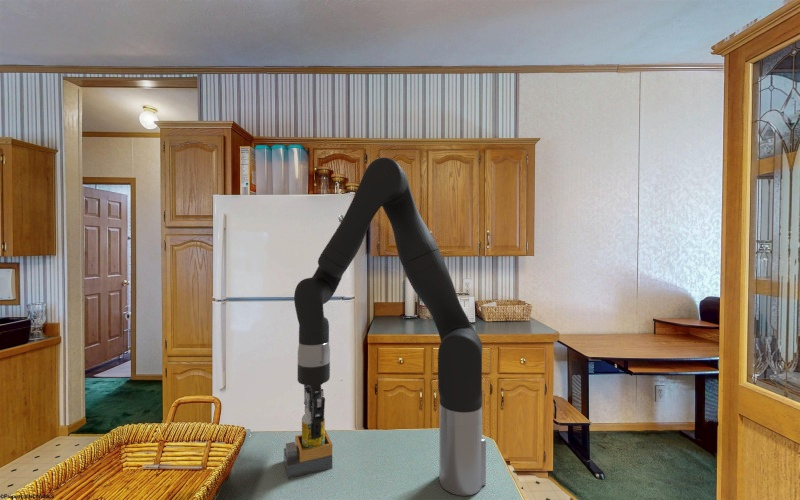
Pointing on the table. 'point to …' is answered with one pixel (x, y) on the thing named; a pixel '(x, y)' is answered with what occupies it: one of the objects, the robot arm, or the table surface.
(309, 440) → the supplement bottle
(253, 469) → the table surface
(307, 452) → the orange open box frame
